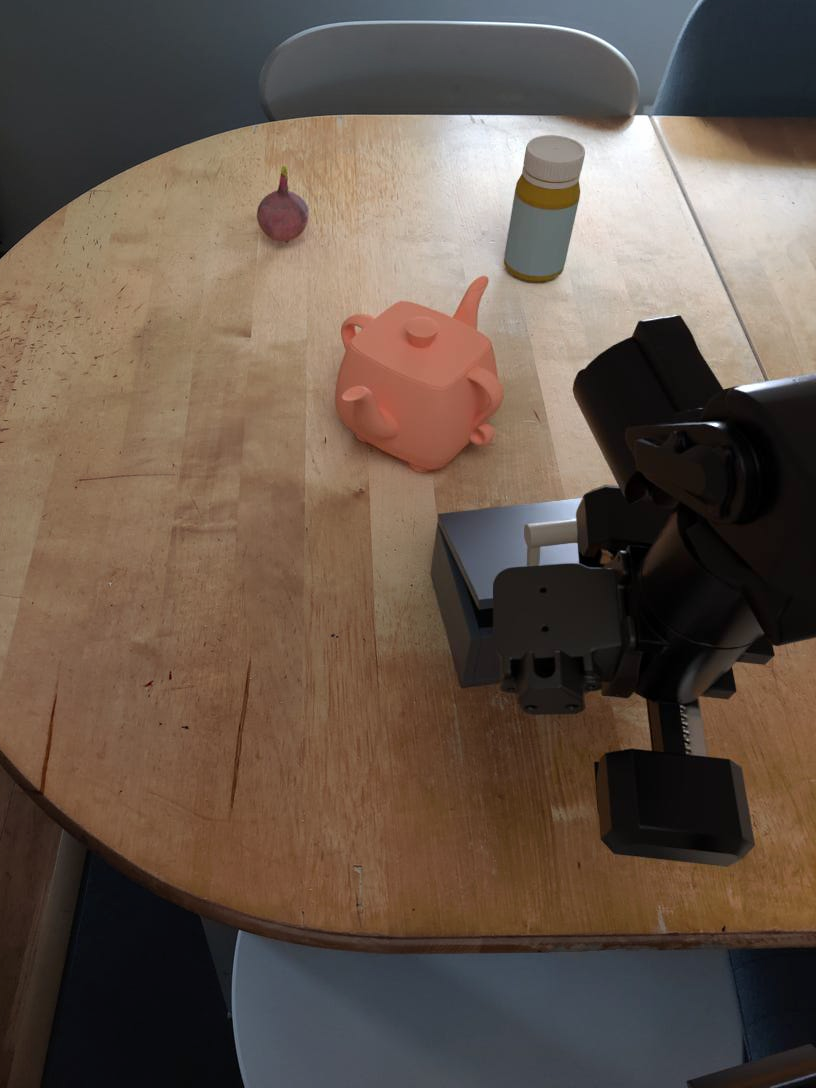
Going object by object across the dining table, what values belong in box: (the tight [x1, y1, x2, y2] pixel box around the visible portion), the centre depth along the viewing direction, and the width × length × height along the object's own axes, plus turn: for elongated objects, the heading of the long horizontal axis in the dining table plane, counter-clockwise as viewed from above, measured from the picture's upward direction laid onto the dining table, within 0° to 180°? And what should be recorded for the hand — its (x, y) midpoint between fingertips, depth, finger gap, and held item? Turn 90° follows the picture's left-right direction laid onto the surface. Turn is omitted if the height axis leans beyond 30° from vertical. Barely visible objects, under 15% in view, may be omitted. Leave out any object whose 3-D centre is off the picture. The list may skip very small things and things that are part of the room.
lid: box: [437, 497, 583, 610], centre depth 63 cm, size 11×14×5 cm
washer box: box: [430, 521, 501, 689], centre depth 68 cm, size 11×14×7 cm
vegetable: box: [256, 165, 310, 244], centre depth 104 cm, size 6×6×10 cm
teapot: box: [334, 275, 505, 473], centre depth 81 cm, size 15×17×13 cm
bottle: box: [503, 134, 586, 284], centre depth 99 cm, size 7×7×15 cm
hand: (607, 714), depth 51 cm, fingers open, 9 cm apart
